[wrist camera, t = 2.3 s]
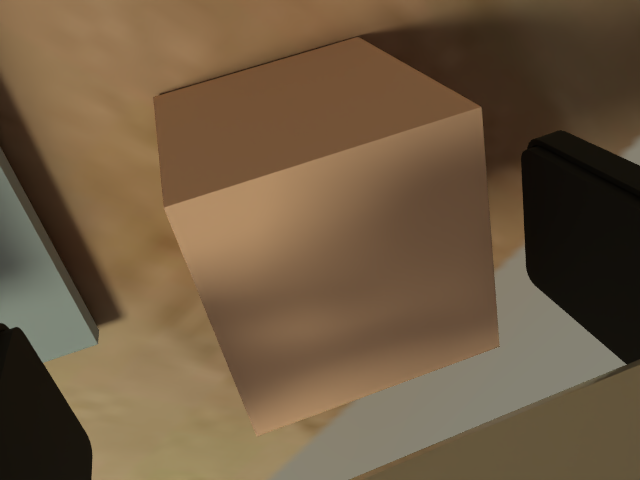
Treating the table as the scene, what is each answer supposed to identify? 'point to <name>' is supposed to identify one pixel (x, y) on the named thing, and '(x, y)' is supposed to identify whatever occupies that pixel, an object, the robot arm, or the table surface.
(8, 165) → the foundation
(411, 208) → the terracotta block
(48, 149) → the table surface
